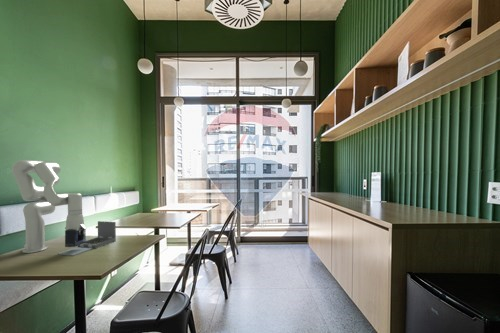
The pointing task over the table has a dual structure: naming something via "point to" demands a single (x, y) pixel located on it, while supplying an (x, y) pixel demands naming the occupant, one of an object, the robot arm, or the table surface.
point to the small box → (73, 238)
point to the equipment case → (102, 235)
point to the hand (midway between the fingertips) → (75, 240)
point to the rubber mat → (75, 251)
